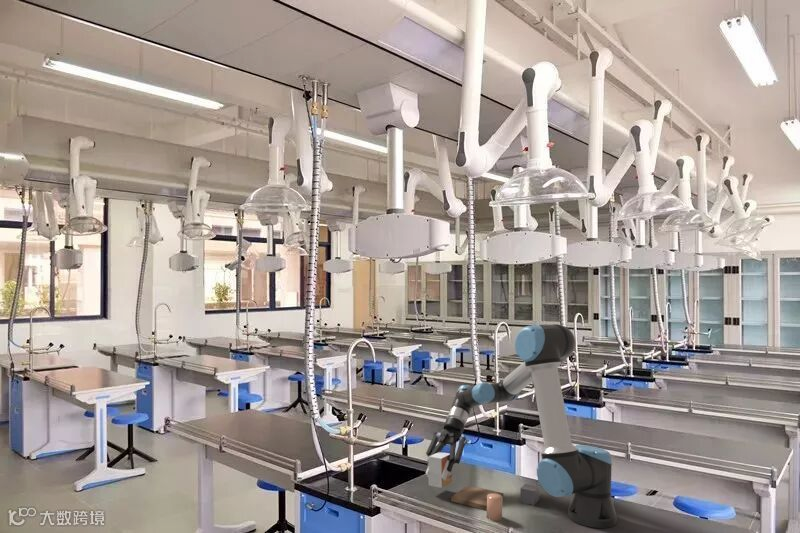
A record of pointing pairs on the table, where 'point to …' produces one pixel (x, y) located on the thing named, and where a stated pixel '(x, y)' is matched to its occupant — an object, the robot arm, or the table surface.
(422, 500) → the table surface
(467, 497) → the walnut board
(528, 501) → the charcoal block
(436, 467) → the small box
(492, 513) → the pinkish-brown upright cylinder
